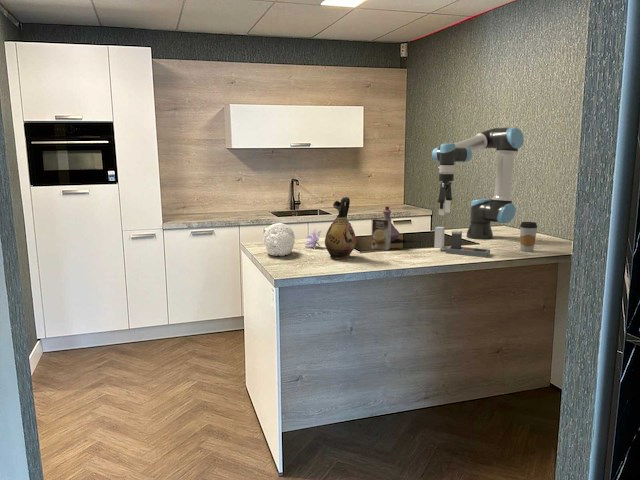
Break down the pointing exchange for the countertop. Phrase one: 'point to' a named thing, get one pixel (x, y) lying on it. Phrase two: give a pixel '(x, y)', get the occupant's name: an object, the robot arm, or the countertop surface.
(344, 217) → the ceramic jug
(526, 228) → the coffee cup
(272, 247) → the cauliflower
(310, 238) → the water lily
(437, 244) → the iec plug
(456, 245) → the twin plug
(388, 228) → the coffee box
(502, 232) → the countertop surface
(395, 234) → the flask
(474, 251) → the pdu strip
